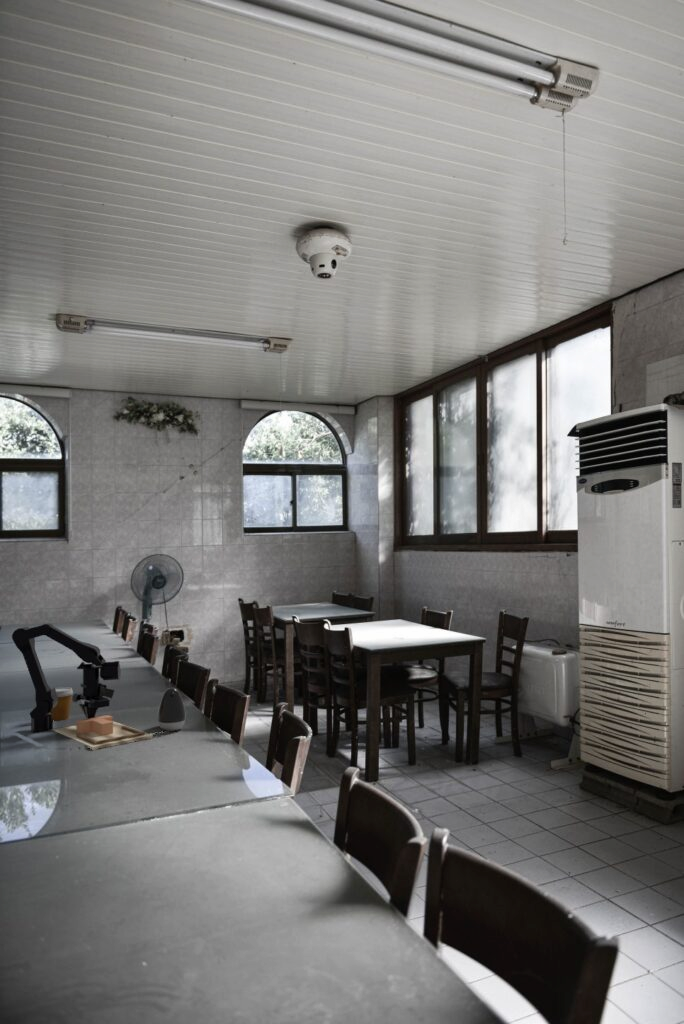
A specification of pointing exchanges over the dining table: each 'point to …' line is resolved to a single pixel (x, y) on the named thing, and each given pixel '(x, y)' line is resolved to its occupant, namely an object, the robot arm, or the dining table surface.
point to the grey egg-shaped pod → (171, 710)
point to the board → (105, 736)
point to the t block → (96, 725)
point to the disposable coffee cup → (62, 704)
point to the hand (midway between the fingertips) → (90, 723)
